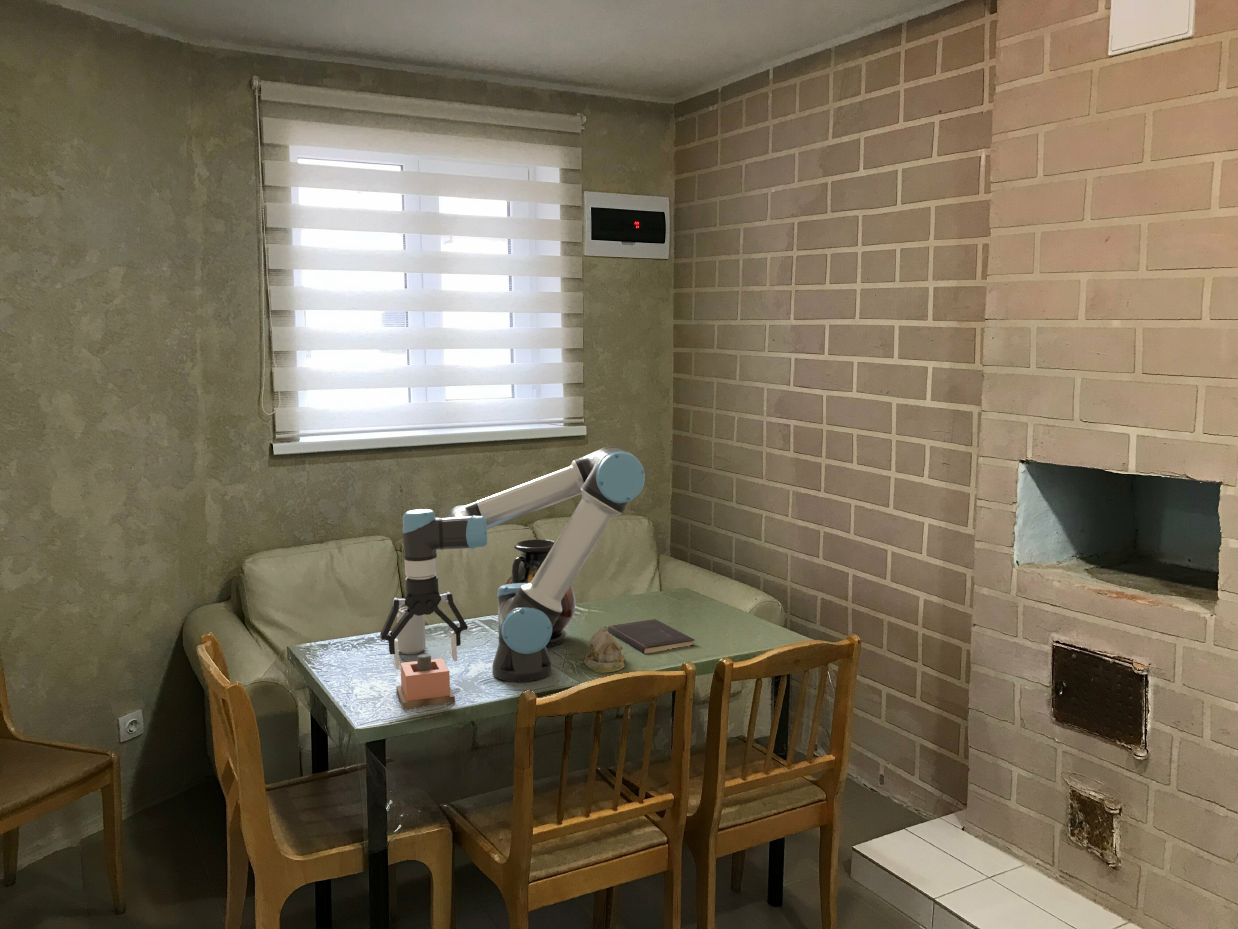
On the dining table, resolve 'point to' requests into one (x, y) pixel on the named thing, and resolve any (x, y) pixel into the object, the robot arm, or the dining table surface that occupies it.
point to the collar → (425, 680)
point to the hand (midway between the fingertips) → (426, 663)
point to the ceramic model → (604, 653)
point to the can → (411, 634)
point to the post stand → (425, 665)
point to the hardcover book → (650, 636)
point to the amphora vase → (525, 572)
